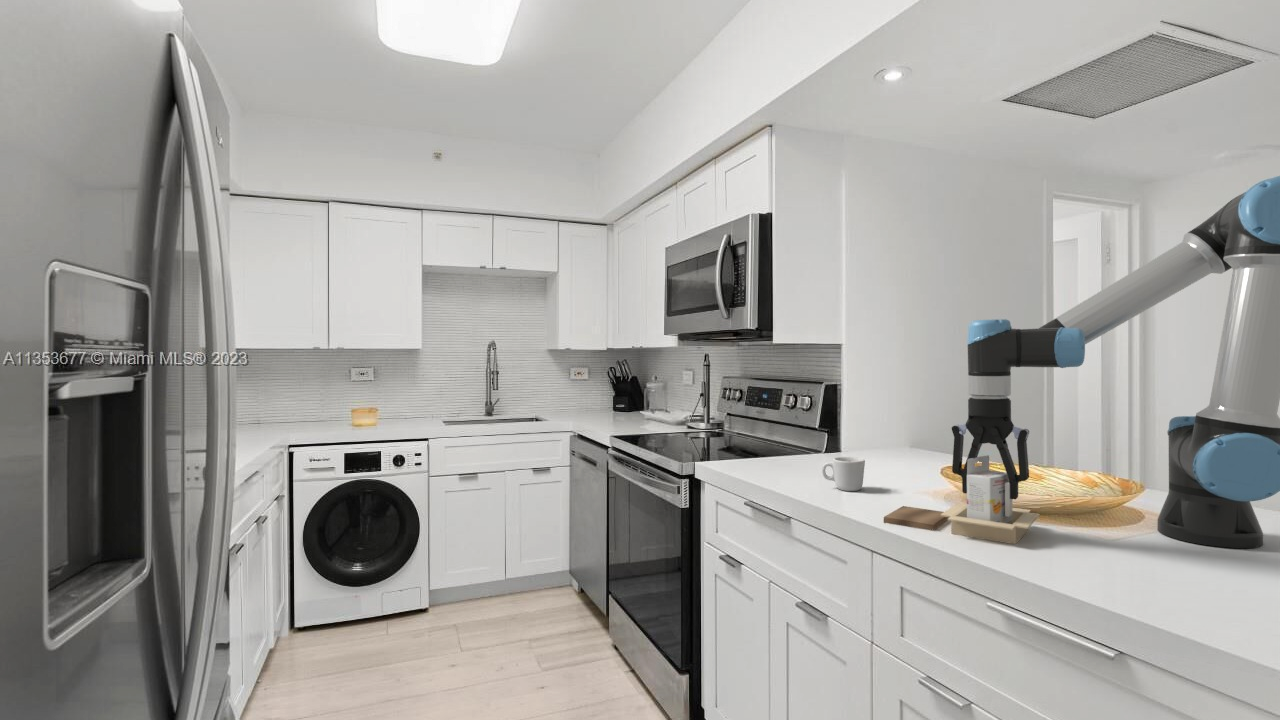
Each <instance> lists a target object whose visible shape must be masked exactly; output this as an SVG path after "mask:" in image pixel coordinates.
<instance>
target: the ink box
mask: <svg viewBox="0 0 1280 720" xmlns="http://www.w3.org/2000/svg"><path fill="white" fill-rule="evenodd" d="M978 462H979V463H981V464H979V465H976V464H977V463H978ZM1007 481H1009V478H1008V475H1007V473H1006V471H998V470H991V469H990V454H989V455H981V456H977V457H975V458H970V459H968V464H967V493H966V504H967V518H973V519H979V520H986V521H993V522H1000V523H1007V524H1012V515H1011V516H1010V517H1008V516H1005V483H1006V482H1007Z"/></svg>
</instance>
